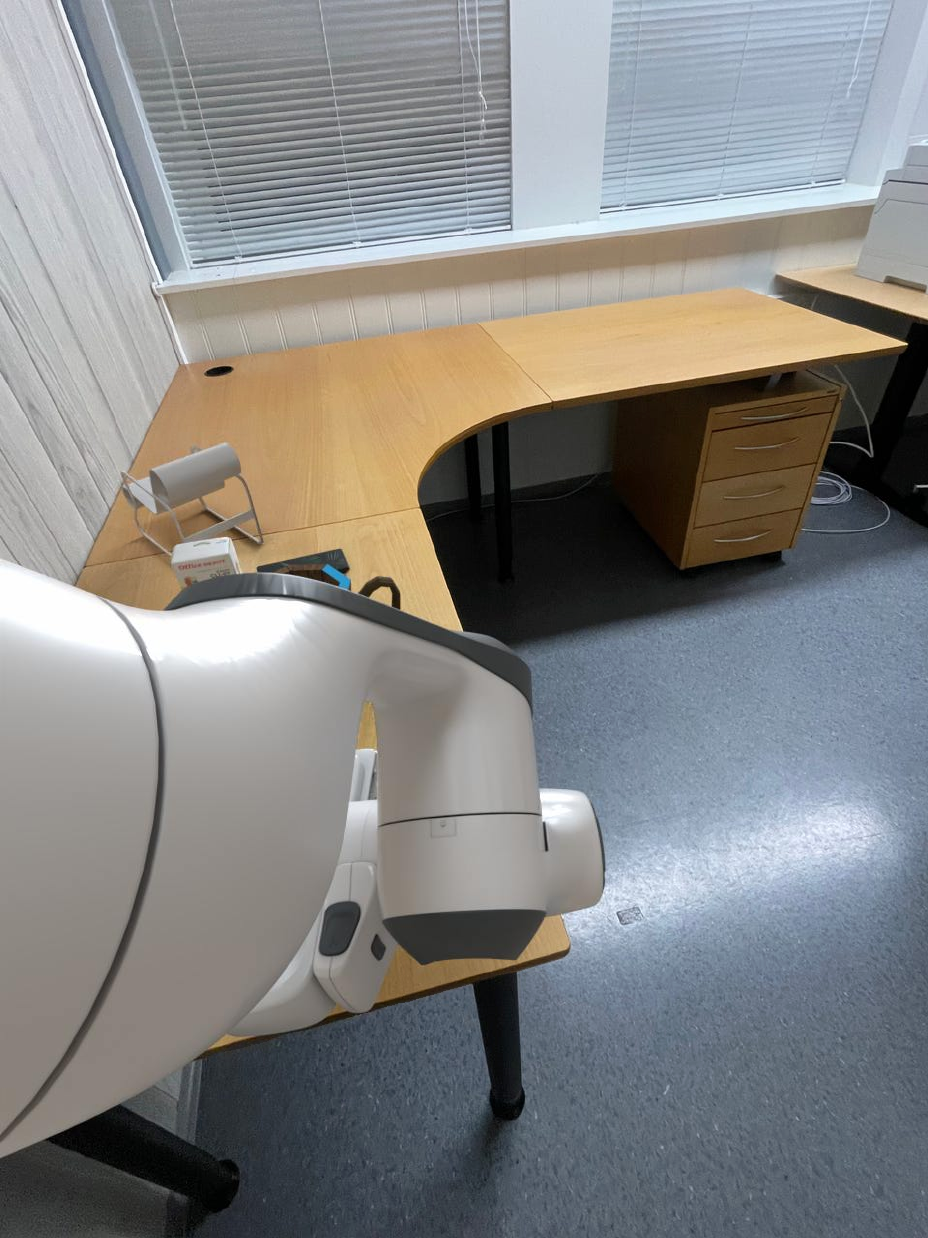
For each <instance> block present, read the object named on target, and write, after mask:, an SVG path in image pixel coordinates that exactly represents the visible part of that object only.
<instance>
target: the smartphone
mask: <svg viewBox="0 0 928 1238" xmlns="http://www.w3.org/2000/svg"><path fill="white" fill-rule="evenodd" d="M305 564H329V565H330V566H331V567H333V568H334V569H336V570H337V571H339V572H340V573H344V572H345V573H346V572H349V571H350V565H349V562H348V561H347V557H346V555H345V553H344V550H343V548H335V549H331V550H326V551H322V552H317V553H312V554H308V555H304V556H299V557H294V558H289V559H285V560H279V561H275V562H271V563H267V564H266V563H265V564H263V565H258V566H257V567H256V573H273V572H275V571H277V570H279V569H282V568H284V567H286V566H288V565H305Z"/></svg>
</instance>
